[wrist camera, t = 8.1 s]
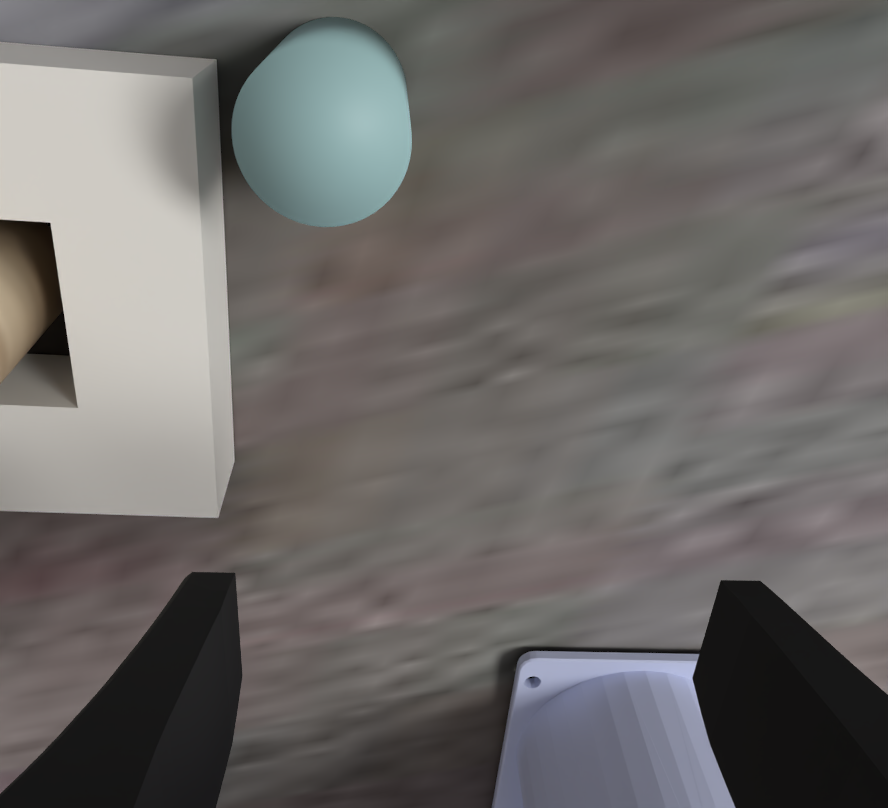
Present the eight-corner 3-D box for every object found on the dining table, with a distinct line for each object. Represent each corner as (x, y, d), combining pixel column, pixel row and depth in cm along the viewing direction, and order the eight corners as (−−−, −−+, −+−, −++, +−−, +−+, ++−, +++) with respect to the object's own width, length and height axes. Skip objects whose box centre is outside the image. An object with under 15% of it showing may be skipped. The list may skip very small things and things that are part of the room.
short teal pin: (402, 168, 19) (406, 232, 15) (267, 159, 19) (234, 221, 15) (411, 23, 17) (417, 51, 13) (264, 10, 17) (227, 35, 13)
